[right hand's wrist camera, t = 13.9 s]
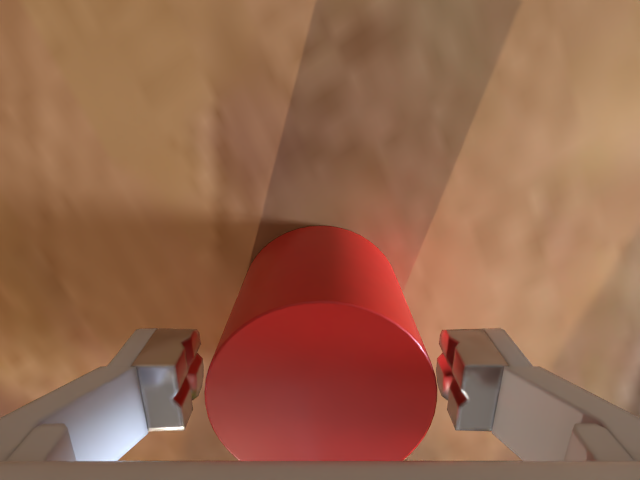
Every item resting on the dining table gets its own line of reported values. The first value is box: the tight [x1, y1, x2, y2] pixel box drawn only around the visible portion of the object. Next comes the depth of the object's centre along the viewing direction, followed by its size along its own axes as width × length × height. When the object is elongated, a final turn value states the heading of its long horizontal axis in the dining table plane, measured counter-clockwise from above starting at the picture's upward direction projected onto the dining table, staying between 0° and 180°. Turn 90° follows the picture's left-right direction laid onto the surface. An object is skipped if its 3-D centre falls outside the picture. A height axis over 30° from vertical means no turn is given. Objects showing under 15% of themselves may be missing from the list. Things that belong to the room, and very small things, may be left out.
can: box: [205, 226, 437, 461], centre depth 11 cm, size 5×5×5 cm
